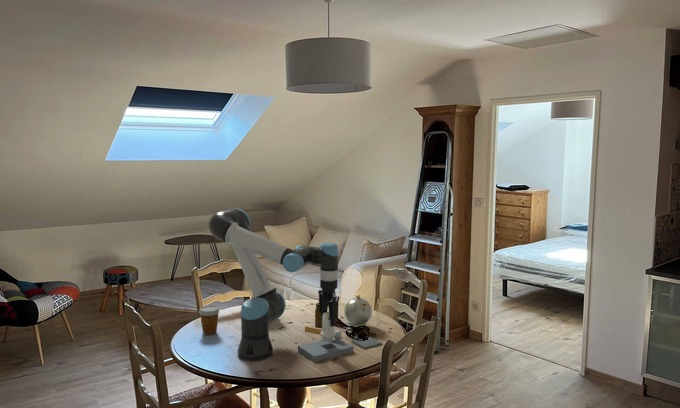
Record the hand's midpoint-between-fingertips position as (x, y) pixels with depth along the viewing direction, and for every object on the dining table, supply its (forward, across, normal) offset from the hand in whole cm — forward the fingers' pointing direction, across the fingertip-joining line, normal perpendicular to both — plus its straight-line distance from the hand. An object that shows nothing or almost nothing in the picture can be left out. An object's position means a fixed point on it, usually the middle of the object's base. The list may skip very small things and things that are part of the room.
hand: (327, 331), depth 241 cm
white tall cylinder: (+4, 0, 0) cm, 4 cm away
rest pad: (+9, -1, -20) cm, 22 cm away
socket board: (+9, +1, +1) cm, 9 cm away
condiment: (+10, +28, -14) cm, 33 cm away
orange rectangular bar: (+5, +10, -4) cm, 12 cm away
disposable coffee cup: (+10, +51, +35) cm, 62 cm away
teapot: (+10, +21, -30) cm, 38 cm away
